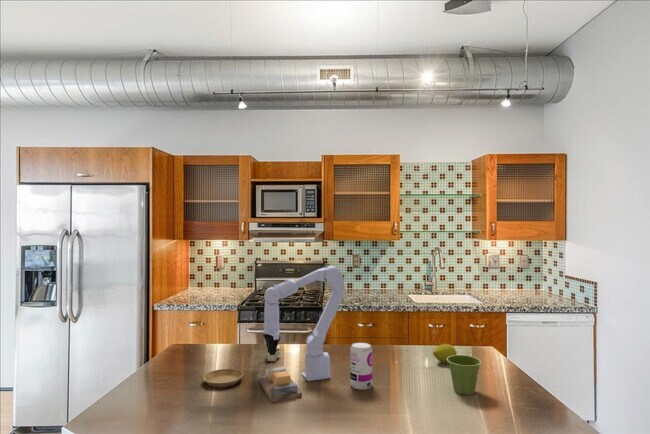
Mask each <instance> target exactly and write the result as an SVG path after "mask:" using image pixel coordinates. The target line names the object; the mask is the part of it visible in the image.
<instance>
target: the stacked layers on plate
mask: <svg viewBox="0 0 650 434" xmlns="http://www.w3.org/2000/svg"><path fill="white" fill-rule="evenodd" d="M280 347H281V345H279V344H278V345H277V350H276V354H275V355H270V353H268V350H267V349H266V359H267V362H268V361H275V362H276V361H277V358H278V357H279V356H280V355H281V352H280V351H281V348H280Z"/></svg>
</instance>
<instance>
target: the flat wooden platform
mask: <svg viewBox="0 0 650 434" xmlns="http://www.w3.org/2000/svg"><path fill="white" fill-rule="evenodd" d="M257 379H258V380H257V381H258V383H259V384H260V386H261V388H262V389H263V391H264V392H265V393H264V394H265V395H266V396H267V398H268V400H269V401H270V403H273V402H281V401H285V400H291V399H293V400H294V399H297V398H302V397H303V391H302V390H301V389H300V388H299V387H298V384H297V383H296V382H294V381H293V379H292V378H291V377H290V384H284V385H278V386H273V381H272V382H267V380H266V375H261V376H258V378H257Z"/></svg>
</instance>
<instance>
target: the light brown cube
mask: <svg viewBox="0 0 650 434" xmlns="http://www.w3.org/2000/svg"><path fill="white" fill-rule="evenodd" d="M290 378H291V375H290V373H288V371H287V370H286V371H283V372H276V373H273V386H278V385H284V384H290Z"/></svg>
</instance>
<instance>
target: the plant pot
mask: <svg viewBox="0 0 650 434" xmlns="http://www.w3.org/2000/svg"><path fill="white" fill-rule="evenodd" d="M447 361H448V363H447V364H448V366H449V370H450V375H451V380H452V381H451V382H452V385H453V387H452V388H453V390H454V391H453V392H455V393H457V394H459V395H465V396H471V395H475V393H476V387H477V380H478V374H479V371H480V365H482V361H481V359H479V358H477V357H476V356H471V355H468V354H456V355H452V356H449V357H447Z"/></svg>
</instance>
